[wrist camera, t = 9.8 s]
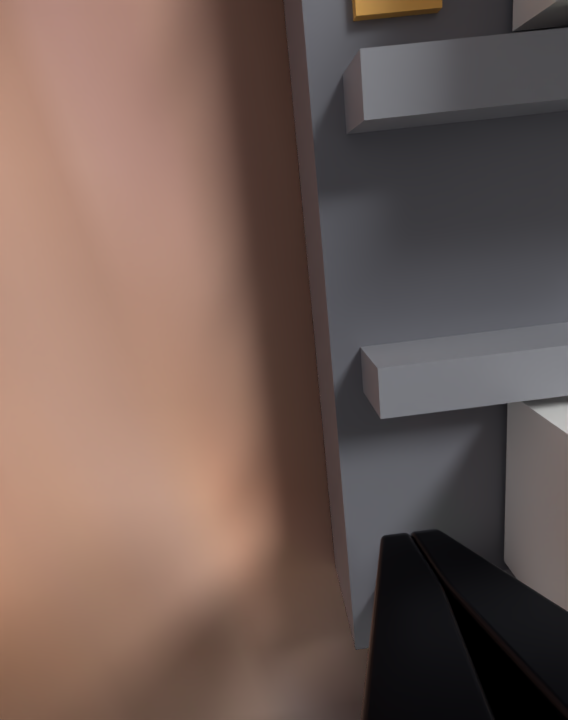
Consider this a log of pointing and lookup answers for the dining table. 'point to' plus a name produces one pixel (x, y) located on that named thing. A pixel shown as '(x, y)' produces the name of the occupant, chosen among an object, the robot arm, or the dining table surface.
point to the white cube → (539, 14)
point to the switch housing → (428, 259)
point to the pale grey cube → (538, 496)
